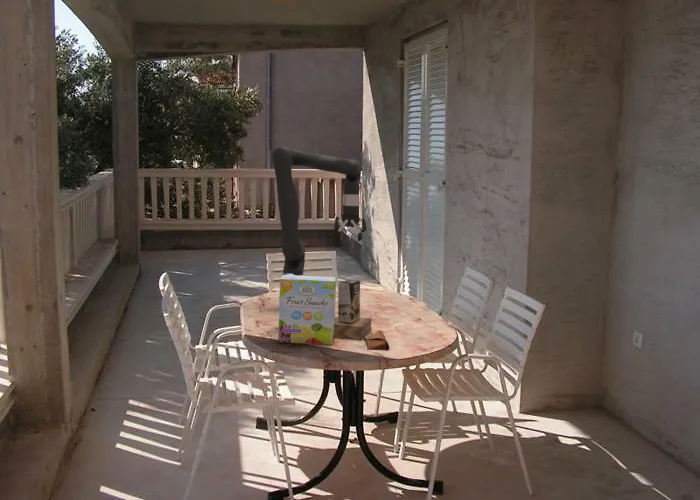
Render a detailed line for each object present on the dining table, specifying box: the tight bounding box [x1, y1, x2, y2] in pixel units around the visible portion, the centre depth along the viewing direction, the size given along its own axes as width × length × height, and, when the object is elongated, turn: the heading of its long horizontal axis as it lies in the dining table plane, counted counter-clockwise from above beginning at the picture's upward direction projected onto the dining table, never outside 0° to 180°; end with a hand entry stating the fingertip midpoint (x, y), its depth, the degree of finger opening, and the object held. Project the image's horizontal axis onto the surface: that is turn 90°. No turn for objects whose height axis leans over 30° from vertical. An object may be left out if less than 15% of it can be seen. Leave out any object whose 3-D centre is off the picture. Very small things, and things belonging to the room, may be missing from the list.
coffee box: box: [337, 279, 361, 323], centre depth 324 cm, size 9×6×16 cm
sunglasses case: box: [363, 330, 390, 351], centre depth 310 cm, size 18×7×7 cm
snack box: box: [277, 275, 337, 346], centre depth 309 cm, size 22×9×26 cm, turn 88°
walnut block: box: [334, 316, 372, 341], centre depth 325 cm, size 14×16×6 cm
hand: (350, 240), depth 355 cm, fingers open, 8 cm apart
